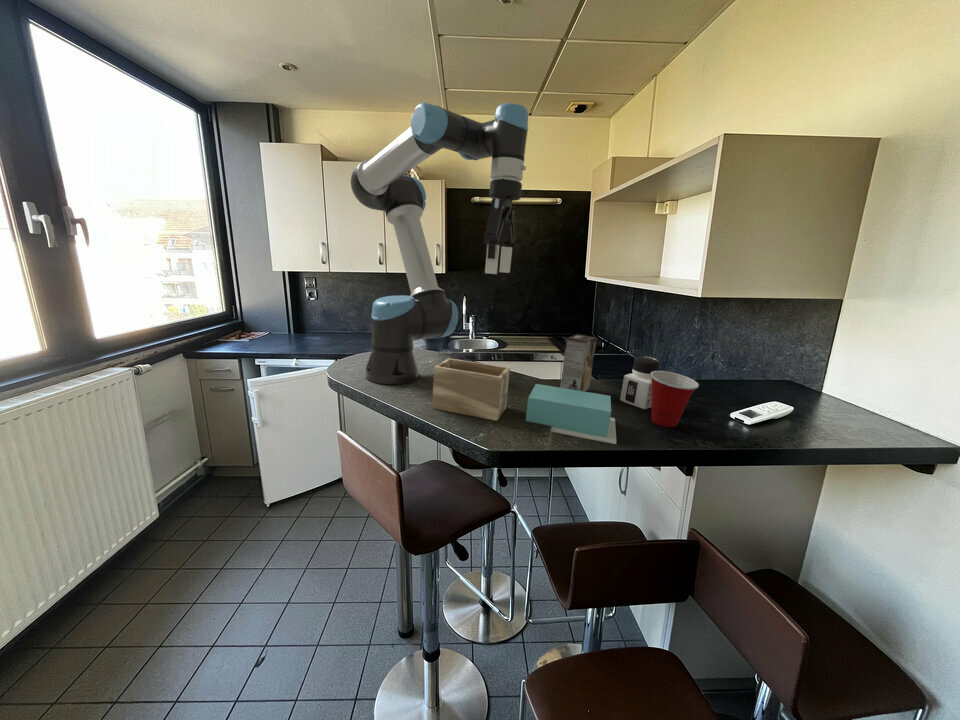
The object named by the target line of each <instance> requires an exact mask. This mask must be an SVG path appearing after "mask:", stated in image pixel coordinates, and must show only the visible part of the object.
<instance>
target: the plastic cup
mask: <svg viewBox="0 0 960 720" xmlns="http://www.w3.org/2000/svg"><path fill="white" fill-rule="evenodd" d="M651 378H652V404H651V407H650V408H651V422H652V421H653V422H654V423H653V422H652V423H653V424H655V423H656V424H655V425H657V424H658V425H657V426H659V425H661V426H660V427H662V426H666V427H665V428H667V427H674V426H676V425H677V426H678V424H679V423H680V420H681V417H682V415H683V414H684V411H685V410H686V407H687V405H688V403H689V401H690V399H691V397H692V395H693V393H694V392H695V390H696V389H698V388H700V387H699V386H700V385H699V383H698V382H697V381H696V380H695V379H693V378H691V377H688V376H686V375H683V374H680V373H676V372H671V371H666V370H659V371H653V372H651ZM677 426H676V427H677ZM674 428H675V427H674Z"/></svg>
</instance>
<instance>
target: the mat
mask: <svg viewBox="0 0 960 720" xmlns="http://www.w3.org/2000/svg"><path fill="white" fill-rule="evenodd" d="M616 430H617V429H616V418H615V417H610V422H609V427H608V433H607V437H602V436H596V435H591V434H586V433H581V432H576V431H570V430H565V429H560V428H555V427H551V426H550V430H549V432H550V433H551V432H552V433H556V434H561V435H567V436H571V437H572V436H573V437H576V438H582V439H587V440H592V441H595V442H596V441H598V442H602V443H609V444H611V445H612V444H613V445H617V431H616Z"/></svg>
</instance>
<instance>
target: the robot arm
mask: <svg viewBox="0 0 960 720" xmlns="http://www.w3.org/2000/svg"><path fill="white" fill-rule="evenodd" d="M410 118H411V119H410V127H408V128H407V129H406V130H405V131H404V132H403V133H401V134H400V135H399V136H397V138H395V139H394V140H393V141H391V142H390V143H389V144H388V145H387V146H385V148H383V149H382V150H381V151H379V152H378V153H377V154H376V155H375V156H374V157H372V158H371V159H365V160H362V161H361V162H360V163H358V164H357V165H356V167H355V168H354V169H353V170H352V172H351V173H352V174H351V177H350V186H351V190H352V193H353V195H354V197H355V198H356V200H357V201H358V202H359V203H360V204H361V205H363V206H364V207H366V208H368V209H371V210H376V211H380V212H384V213H385V217H386V220H387V222H388V223H389V224H391V225H393V229H394V231H395V237H396V241H397V243H398V247H399V252H400V255H401V259H402V262H403V267H404V271H405V274H406V277H407V282H408V286H409V290H410V295H401V294H400V295H387V296H383V297H379V298H377V299H375V300H374V302H373V303H372V308H371V352H370V355H369V358H368V361H367V364H366V367H365V374H364V375H365V379H366V380H368V381H371V382H373V383H377V384H381V385H402V384H407V383H412V382H414V381H416V380H417V379H418V378H419V369H418V365H417V362H416V358H415V355H414V341H417V340H419V341H420V340H429V339H440V338H444V337H449V336H450V335H452V333H454V331H455V330H456V327H457V325H458V321H459V309H458V307H457V305H456V303H455V301H454V302H453V300H452V299H448V298H447V297H446V296H447V295H446V293H445V289H442V287H441V288H440V287H439V285H438V282H437V281H438V280H437V278H436V274H435V271H434V266H433V263H432V259H431V255H430V253H429V252H430V251H429V249H428V245H427V241H426V237H425V234H424V233H425V232H424V230H423V226H422V221H421V218H422V216H423V215H424V214H423V213H424V211H425V208H426V205H427V202H426V200H427V193H426V189H425V187H424V185H423V183H422V182H421V181H420V180H419V179H417V178H416V177H413V176H410V175H408V174H407V173H408V172H409V171H411V170H412V169H414V168H416V167H417V166H419V165H420V164H421V163H423V162H424V161H426V160H427V159H428V158H430V157H431V156H433V155H435V154H436V153H437V152H439V151H440V150H441V149H445V150H449V151H453V152H455V153H458V154H459V156H461V157H462V158H463V159H464V160H467V161H478V160H483V159H487V158H491V157H492V158H491V167H490V179H492V180H491V181H490V182H489V191H488V192H489V195H488V196H489V198H490V199H491V205H490V210H489V211H490V212H489V217H488V221H487V225H486V230H485V234H484V238H483V244H485V245H486V254H485V255H486V257H485V267H484V274H490V275H491V274H492V275H498V267H499V273H505V274H506V273H507V274H508V273H509V274H511V264H512V257H513V255H512V254H513V248H516V246H517V244H516V242H515V240H516V239H515V238H516V236H515V235H516V234H515V226H516V225H515V215H516V214H515V213H516V207H515V205H514V206H513V202H514V201H516V202H517V201H519V200H521V198H522V188H523V184H522V182H521V181H522V180H523V177H524V176H523V175H524V172H523V171H525V170H526V169H527V167H526V165H525V164H524V163H525V156H526V155H525V154H526V148H527V147H526V145H527V138H528V131H529V111H528V109H527V108H526V106H524V105H522V104H518V103H512V102H506V103H501V104H499V105H498V106H497V107H496V109H495V114H494V119H491V120H489V121H486V122H480V121H476V120H474V119H472V118H469V117H466V116H464V115H461V114H458V113H456V112H454V111H451V110H448V109H446V108H444V107H442V106H439V105H437V104H432V103H428V102H421V103H419V104H417V106H415V108H414V112H412V114H411V117H410ZM501 238H502V239H501ZM500 239H501V240H502V246H501V248H500V244H499V243H500V242H499V241H500ZM500 249H501V250H500ZM499 254H500V259H499ZM499 261H500V263H499ZM498 265H499V266H498Z"/></svg>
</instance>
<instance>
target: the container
mask: <svg viewBox="0 0 960 720" xmlns="http://www.w3.org/2000/svg"><path fill="white" fill-rule="evenodd" d="M660 364H661V362H660V361H659V360H658V359H656V358H653V357H649V356H637V357H635V358H634V360H633V366H632V370H631V371H632V373H628V374H625V375H624V376H623V379H622V380H623V381H622V388H621V393H620V396H619V397H620V398H619V400H620V402H623V403H625V404H629V405H631V406H633V407H637V408H640V409H642V410H647V409H650V408H651V404H652V378H651V372H653V371H660Z"/></svg>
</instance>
